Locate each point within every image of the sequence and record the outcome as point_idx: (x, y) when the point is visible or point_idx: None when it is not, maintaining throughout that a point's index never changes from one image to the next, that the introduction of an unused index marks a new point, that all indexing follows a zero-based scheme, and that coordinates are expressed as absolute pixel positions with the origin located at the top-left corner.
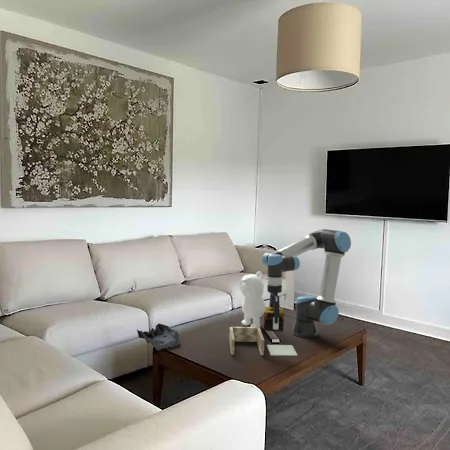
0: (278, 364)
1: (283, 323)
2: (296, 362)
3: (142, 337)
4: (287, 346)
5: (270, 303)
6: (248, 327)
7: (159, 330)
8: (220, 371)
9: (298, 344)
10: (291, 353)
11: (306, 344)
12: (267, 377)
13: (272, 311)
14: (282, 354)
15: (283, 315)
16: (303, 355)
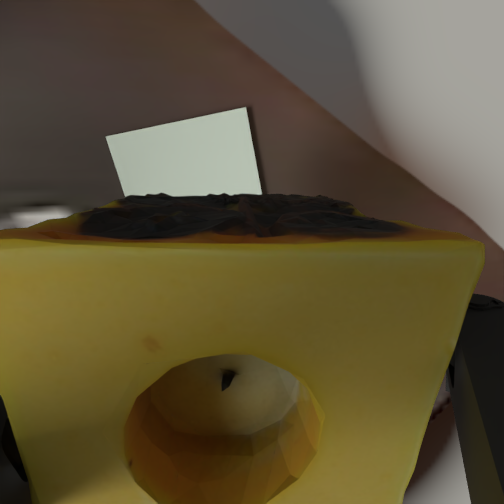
0: (363, 203)
1: (146, 196)
2: (329, 115)
3: None
4: (135, 163)
5: None
6: None
7: None
8: (442, 394)
9: (62, 97)
10: (233, 140)
11: (41, 41)
12: (491, 241)
13: (351, 447)
14: (258, 188)
15: (104, 208)
16: (228, 71)
